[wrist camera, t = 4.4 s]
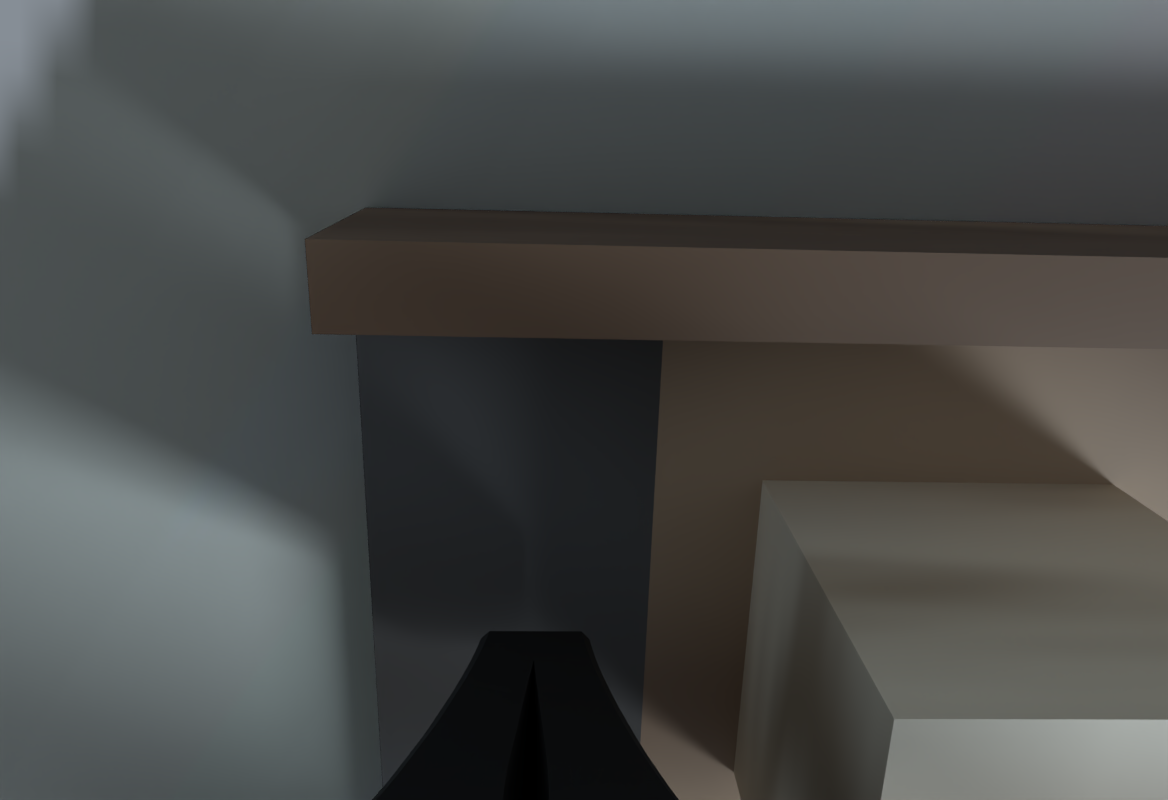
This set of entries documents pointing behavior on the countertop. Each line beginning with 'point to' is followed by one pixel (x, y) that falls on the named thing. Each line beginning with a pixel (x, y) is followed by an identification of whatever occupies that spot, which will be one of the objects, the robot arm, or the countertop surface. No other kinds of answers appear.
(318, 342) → the countertop surface
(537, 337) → the wooden tray
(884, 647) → the cream cube
